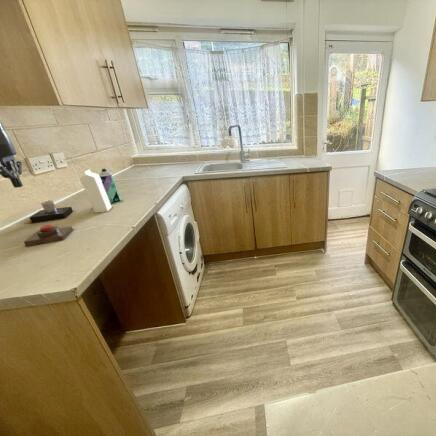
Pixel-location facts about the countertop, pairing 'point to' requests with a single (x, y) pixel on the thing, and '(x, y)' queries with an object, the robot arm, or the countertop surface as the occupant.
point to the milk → (95, 192)
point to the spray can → (110, 186)
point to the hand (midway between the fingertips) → (18, 186)
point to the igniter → (48, 236)
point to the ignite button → (46, 228)
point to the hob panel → (51, 215)
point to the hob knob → (49, 207)
